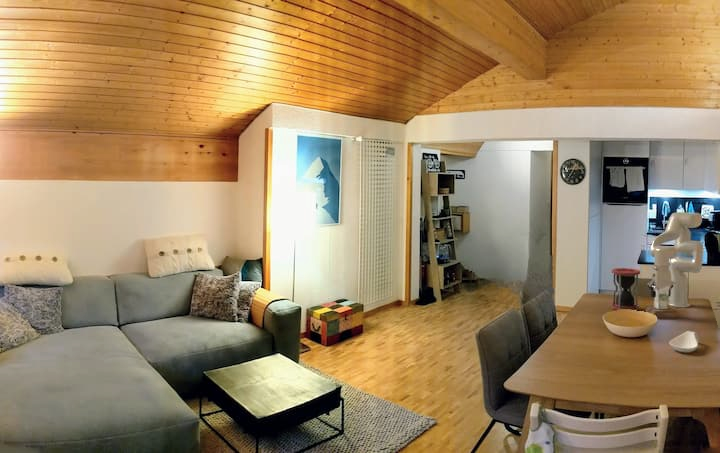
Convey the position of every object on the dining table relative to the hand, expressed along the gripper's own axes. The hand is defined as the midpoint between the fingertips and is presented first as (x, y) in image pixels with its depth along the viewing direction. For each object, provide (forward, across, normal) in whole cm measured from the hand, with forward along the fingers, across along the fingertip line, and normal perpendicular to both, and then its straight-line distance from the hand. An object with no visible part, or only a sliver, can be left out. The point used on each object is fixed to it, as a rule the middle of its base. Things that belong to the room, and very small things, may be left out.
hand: (660, 296), depth 316 cm
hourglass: (+12, -9, +20) cm, 25 cm away
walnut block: (+12, 0, 0) cm, 12 cm away
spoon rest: (+12, -28, -54) cm, 62 cm away
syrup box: (+7, 0, 0) cm, 7 cm away
